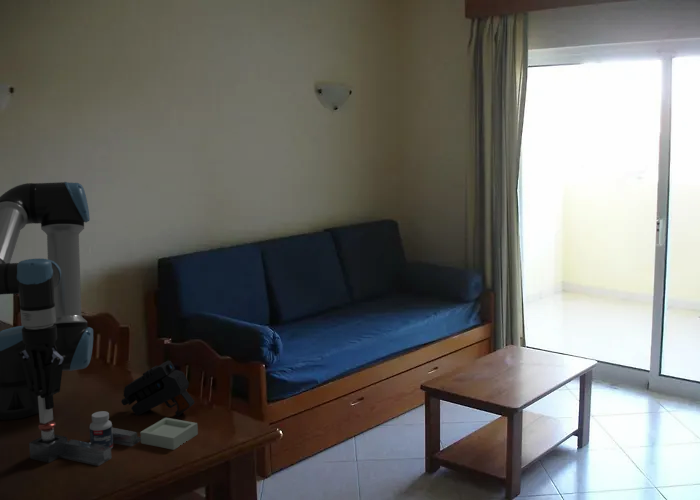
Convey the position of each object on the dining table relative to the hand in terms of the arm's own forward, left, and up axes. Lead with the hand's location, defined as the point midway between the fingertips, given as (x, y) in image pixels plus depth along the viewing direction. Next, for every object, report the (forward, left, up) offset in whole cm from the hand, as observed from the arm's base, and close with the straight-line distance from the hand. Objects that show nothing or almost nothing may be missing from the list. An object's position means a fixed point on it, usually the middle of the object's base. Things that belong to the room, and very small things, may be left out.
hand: (46, 421), depth 172 cm
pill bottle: (+9, +8, -9) cm, 15 cm away
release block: (0, 0, -9) cm, 9 cm away
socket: (+9, +8, -9) cm, 15 cm away
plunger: (0, 0, -7) cm, 7 cm away
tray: (+21, +19, -9) cm, 30 cm away
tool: (+7, +32, -9) cm, 34 cm away
